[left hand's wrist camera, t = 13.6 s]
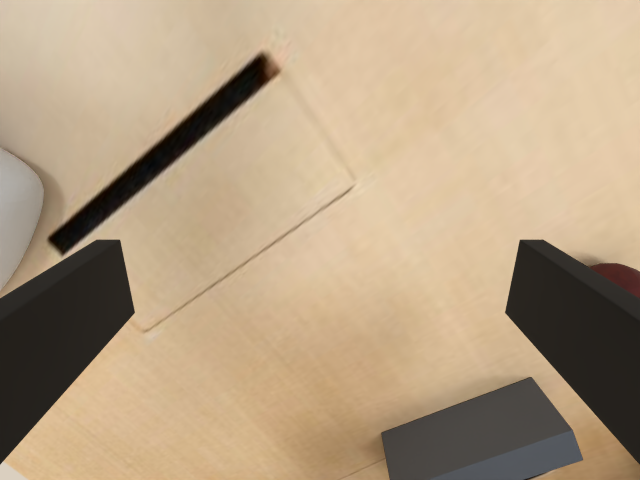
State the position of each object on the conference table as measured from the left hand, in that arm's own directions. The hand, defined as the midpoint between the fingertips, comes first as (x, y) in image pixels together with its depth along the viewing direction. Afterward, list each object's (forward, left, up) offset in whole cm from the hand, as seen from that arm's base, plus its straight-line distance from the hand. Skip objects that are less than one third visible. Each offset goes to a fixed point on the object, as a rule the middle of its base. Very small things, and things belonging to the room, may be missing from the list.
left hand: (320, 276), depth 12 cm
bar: (+35, +19, -28) cm, 49 cm away
